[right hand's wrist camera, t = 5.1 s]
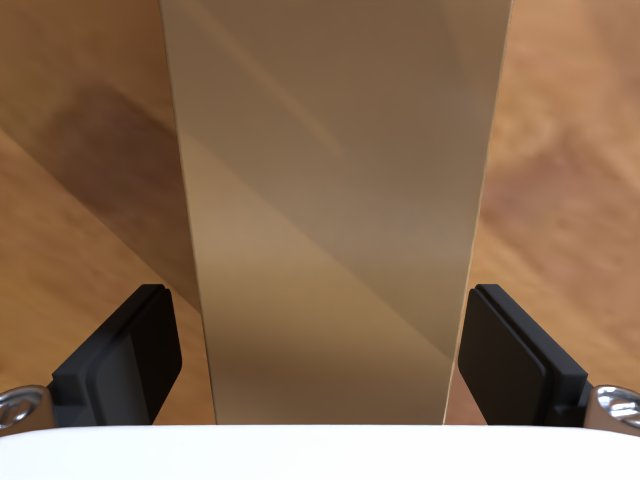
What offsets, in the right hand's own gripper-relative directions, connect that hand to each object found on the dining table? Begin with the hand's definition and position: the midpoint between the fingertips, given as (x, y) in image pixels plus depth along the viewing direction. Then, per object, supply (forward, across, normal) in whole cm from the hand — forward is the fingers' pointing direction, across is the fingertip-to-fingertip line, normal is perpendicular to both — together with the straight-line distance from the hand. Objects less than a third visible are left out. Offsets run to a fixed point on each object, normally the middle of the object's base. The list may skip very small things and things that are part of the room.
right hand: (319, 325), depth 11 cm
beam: (+5, 0, -20) cm, 20 cm away
